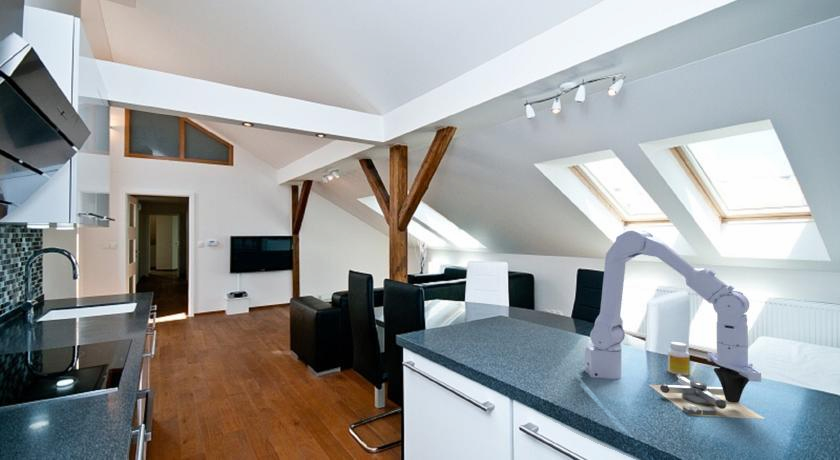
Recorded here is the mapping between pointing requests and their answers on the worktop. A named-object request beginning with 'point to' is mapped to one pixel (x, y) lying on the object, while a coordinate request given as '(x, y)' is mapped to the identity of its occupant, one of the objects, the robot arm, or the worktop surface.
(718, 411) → the stand plate
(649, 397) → the worktop surface
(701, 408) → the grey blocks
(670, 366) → the supplement bottle
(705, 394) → the cam capstan
